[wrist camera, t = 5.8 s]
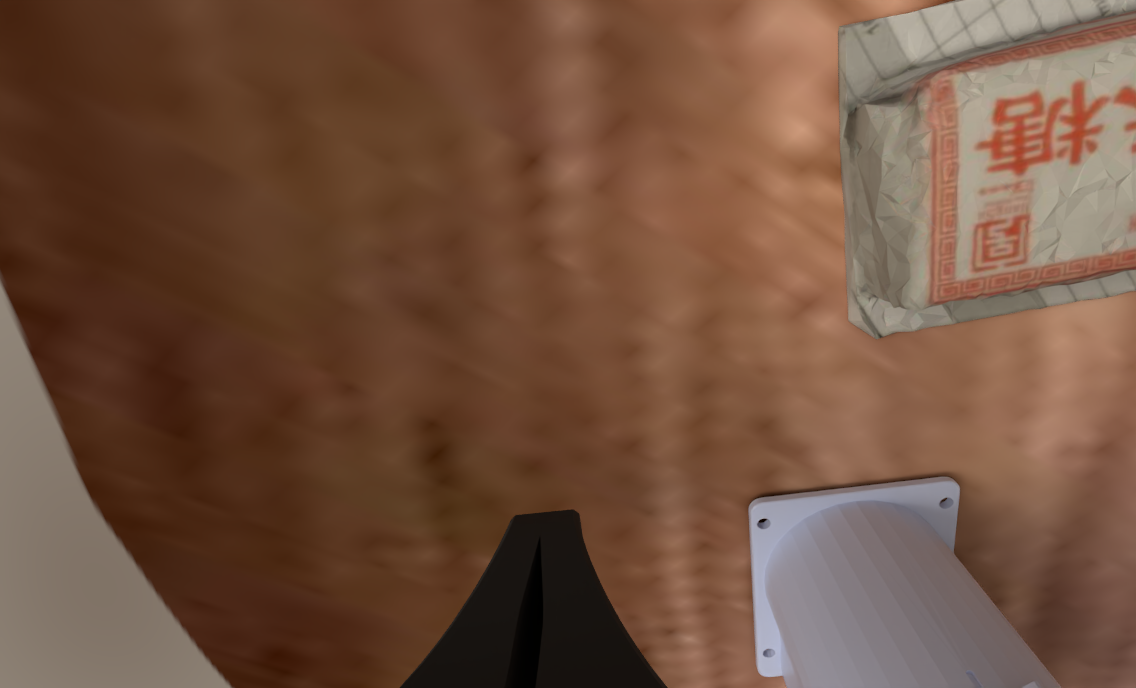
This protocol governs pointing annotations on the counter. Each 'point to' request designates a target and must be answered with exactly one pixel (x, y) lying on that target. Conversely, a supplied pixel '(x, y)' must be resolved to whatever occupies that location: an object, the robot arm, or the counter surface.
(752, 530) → the robot arm
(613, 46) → the counter surface
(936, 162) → the packaged product
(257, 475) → the counter surface
